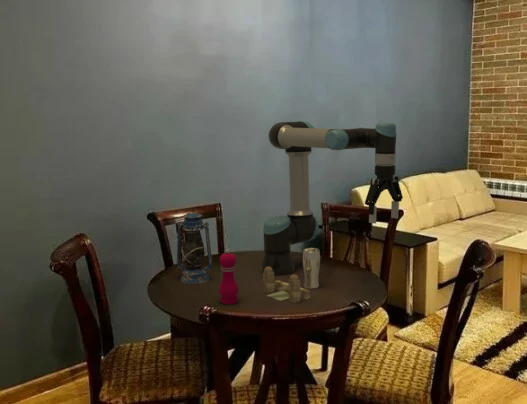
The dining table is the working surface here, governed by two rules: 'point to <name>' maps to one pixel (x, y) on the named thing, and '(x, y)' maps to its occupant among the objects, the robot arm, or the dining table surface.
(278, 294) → the wooden toy blocks
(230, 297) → the pepper mill
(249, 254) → the dining table surface
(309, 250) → the beer glass
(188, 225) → the lantern
